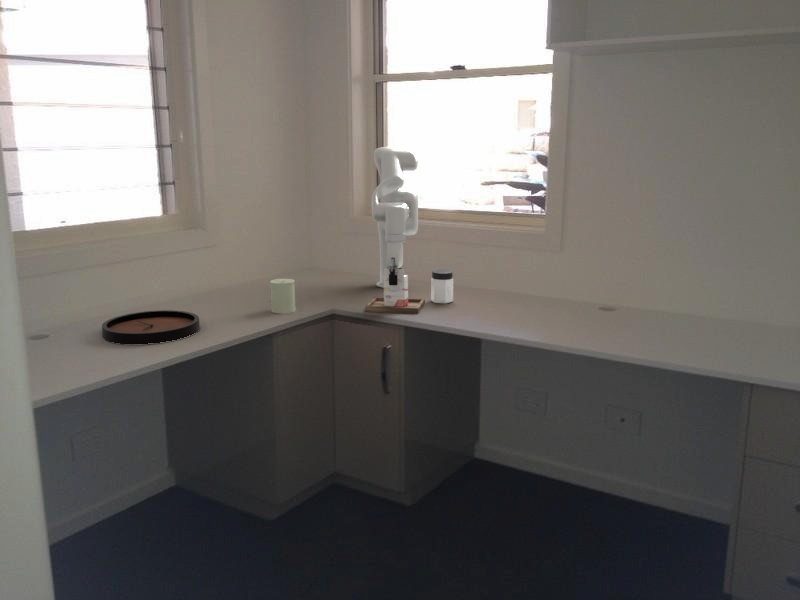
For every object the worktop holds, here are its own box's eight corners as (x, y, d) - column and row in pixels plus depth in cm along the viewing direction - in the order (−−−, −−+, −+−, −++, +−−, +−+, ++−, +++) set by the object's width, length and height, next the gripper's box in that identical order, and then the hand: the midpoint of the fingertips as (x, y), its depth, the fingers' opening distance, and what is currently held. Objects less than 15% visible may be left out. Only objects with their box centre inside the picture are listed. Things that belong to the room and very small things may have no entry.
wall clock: (203, 328, 239) (100, 337, 228) (204, 339, 239) (101, 350, 229) (194, 307, 267) (102, 314, 256) (195, 317, 268) (103, 326, 257)
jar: (441, 304, 285) (442, 274, 282) (426, 301, 291) (427, 271, 288) (457, 300, 291) (457, 271, 288) (442, 297, 297) (442, 268, 294)
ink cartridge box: (408, 304, 282) (408, 267, 279) (404, 307, 277) (404, 269, 274) (387, 303, 285) (387, 265, 281) (383, 305, 280) (383, 268, 277)
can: (273, 314, 271) (271, 282, 268) (269, 309, 279) (267, 278, 277) (297, 312, 274) (296, 281, 271) (293, 307, 282) (292, 276, 280)
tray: (375, 301, 290) (374, 297, 290) (424, 303, 286) (424, 298, 286) (365, 311, 275) (365, 306, 274) (418, 313, 271) (418, 308, 271)
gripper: (390, 234, 283) (390, 277, 287) (380, 241, 267) (381, 286, 271) (409, 235, 282) (409, 278, 286) (400, 241, 266) (401, 287, 269)
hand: (395, 282), depth 278 cm, fingers open, 9 cm apart
